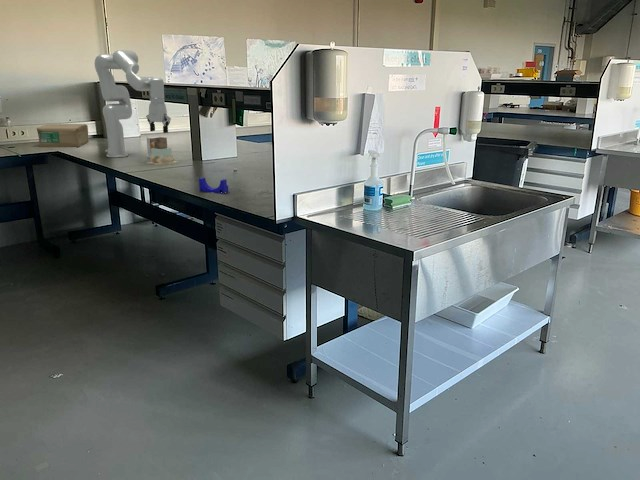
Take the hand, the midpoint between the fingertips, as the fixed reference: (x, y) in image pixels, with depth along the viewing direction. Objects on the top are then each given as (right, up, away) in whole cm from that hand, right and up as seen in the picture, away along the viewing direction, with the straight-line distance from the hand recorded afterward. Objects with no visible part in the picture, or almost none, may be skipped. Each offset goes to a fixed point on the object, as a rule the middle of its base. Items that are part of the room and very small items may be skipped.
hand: (159, 131), depth 301 cm
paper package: (-89, +5, +72) cm, 114 cm away
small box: (-8, -13, +20) cm, 25 cm away
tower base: (0, -17, +5) cm, 17 cm away
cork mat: (0, -17, +5) cm, 18 cm away
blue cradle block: (+44, -40, -64) cm, 88 cm away
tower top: (0, -13, +4) cm, 13 cm away
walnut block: (0, -9, +2) cm, 9 cm away
